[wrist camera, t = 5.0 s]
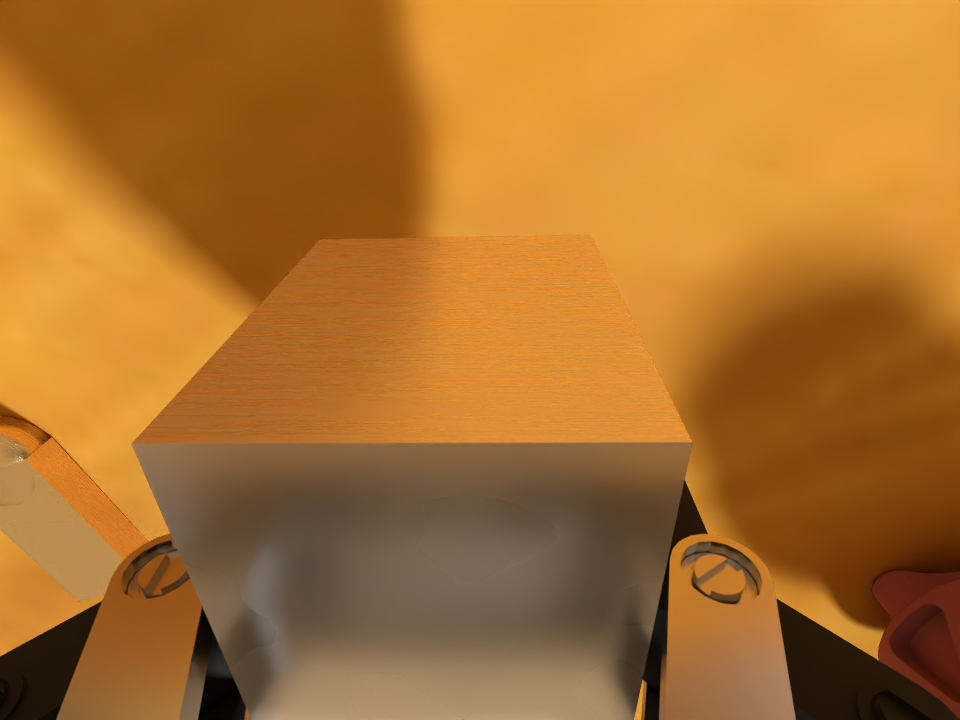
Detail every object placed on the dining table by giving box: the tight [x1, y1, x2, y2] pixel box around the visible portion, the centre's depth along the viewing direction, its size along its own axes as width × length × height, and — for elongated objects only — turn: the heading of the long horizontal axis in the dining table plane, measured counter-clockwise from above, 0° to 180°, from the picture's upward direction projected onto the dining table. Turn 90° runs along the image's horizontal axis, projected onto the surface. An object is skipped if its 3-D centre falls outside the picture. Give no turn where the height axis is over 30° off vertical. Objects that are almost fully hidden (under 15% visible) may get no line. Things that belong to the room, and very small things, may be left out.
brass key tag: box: [0, 416, 148, 602], centre depth 19 cm, size 7×3×1 cm, turn 21°
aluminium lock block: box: [132, 235, 692, 720], centre depth 10 cm, size 9×5×6 cm, turn 2°
